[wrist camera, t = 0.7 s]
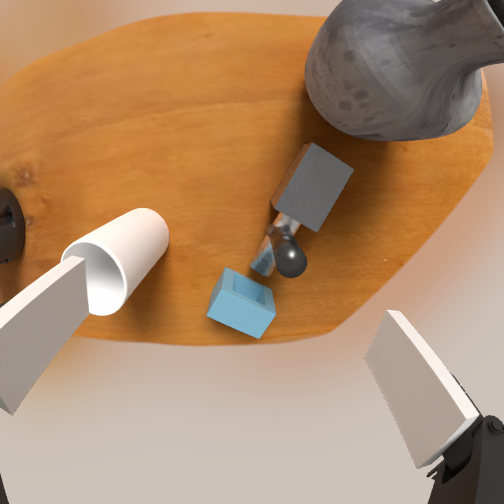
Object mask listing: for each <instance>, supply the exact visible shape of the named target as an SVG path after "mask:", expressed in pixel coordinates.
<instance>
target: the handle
mask: <svg viewBox="0 0 504 504" xmlns="http://www.w3.org/2000/svg"><path fill="white" fill-rule="evenodd" d="M300 225H301V223H299V222H297V221H295V220H294V219H292V218H290V217H288V216H287V215H285V214H283V213H281V212H279V214H278V215H277V217H276V219H275V221H274V222H273V224H272V223H269V225H268V227H267V228H266V230H265V233H266V236H265V238H264V240H263V241H262V243H261V245H260V246H259V248H258V250H257V252H256V253H255V255H254V257H253V258H252V260H251V262H250V264H249V265H250V267H251V268H252V269H253V270H255V271H256V272H257V273H259V274H261V275H264V276H270V274H271V273H272V271H273V270H274V268H275V266H277V269H278V271H279V273H280V274H281V275H283V276H284V277H287V278H294V277H298V276H299V275H301V274H302V273H303V272H304V271H305V269H306V267H307V258H306V256H305V254H304V252H303V251H302V249H301V247H300V245H299V244H298V242H297V240H296V238H295V237H294V235H295V234H296V232H297V230H298V229H299V227H300Z"/></svg>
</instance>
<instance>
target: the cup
mask: <svg viewBox="0 0 504 504" xmlns="http://www.w3.org/2000/svg"><path fill="white" fill-rule="evenodd" d="M168 243H169V231H168V227H167V225H166V223H165V221H164V220H163V218H162V217H161V216H160V215H159V214H157V213H156V212H154V211H153V210H150V209H146V208H138V209H134V210H132V211H130V212H128V213H126V214H124V215H122V216H120V217H118V218H116V219H114V220H113V221H111V222H109V223H107V224H105V225H103V226H101V227H100V228H98V229H96V230H94V231H92V232H91V233H89V234H87V235H85V236H84V237H82V238H80V239H78V240H77V241H75V242H73V243H72V244H71V245H70V246H68V247H67V249H66V250H65V251H64V253H63V255H62V258H61V262H62V261H64V260H65V259H67V258H68V257H70V256H71V255H72V256H76V257H81V258H85V265H86V282H87V294H88V304H89V313H91V314H95V315H100V316H105V315H110V314H113V313H115V312H116V311H117V310H118V309H120V308H121V306H122V305H123V304H124V303H125V301H126V300H127V299H128V298H129V296H130V295H131V294H132V292H133V291H134V290H135V288H136V287H137V286H138V285H139V283H140V282H141V281H142V280H143V278H144V277H145V276H146V275H147V273H148V272H149V271H150V270H151V268H152V267H153V266H154V265H155V263H156V262H157V261H158V260H159V258H160V257H161V256H162V255H163V254H164V252H165V251H166V249H167V247H168Z"/></svg>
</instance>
